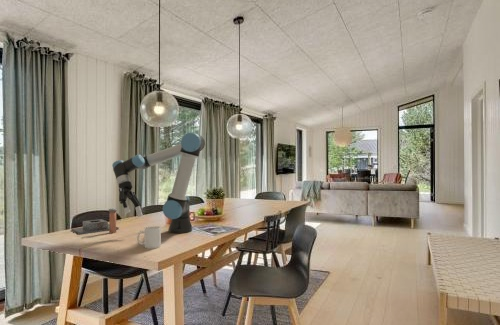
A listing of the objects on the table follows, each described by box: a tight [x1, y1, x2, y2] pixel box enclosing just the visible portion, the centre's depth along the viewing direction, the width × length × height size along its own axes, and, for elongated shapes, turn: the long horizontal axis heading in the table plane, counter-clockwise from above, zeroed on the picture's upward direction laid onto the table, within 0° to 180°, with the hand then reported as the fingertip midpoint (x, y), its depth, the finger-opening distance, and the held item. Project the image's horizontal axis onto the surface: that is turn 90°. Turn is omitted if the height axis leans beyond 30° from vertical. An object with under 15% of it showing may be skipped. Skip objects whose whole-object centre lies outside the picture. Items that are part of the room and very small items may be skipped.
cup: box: [136, 225, 162, 250], centre depth 171 cm, size 8×12×10 cm
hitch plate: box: [70, 219, 119, 236], centre depth 217 cm, size 24×18×6 cm
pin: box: [108, 208, 118, 234], centre depth 208 cm, size 5×5×15 cm
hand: (134, 214), depth 191 cm, fingers open, 13 cm apart
